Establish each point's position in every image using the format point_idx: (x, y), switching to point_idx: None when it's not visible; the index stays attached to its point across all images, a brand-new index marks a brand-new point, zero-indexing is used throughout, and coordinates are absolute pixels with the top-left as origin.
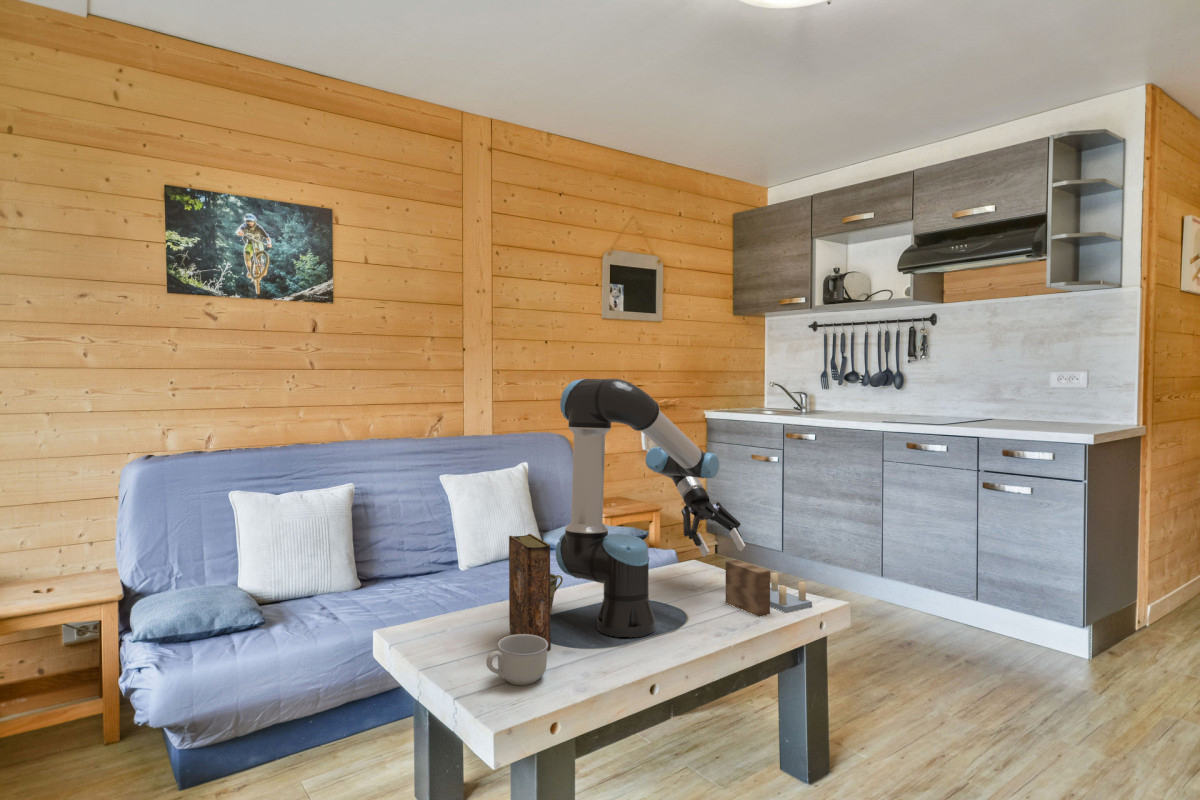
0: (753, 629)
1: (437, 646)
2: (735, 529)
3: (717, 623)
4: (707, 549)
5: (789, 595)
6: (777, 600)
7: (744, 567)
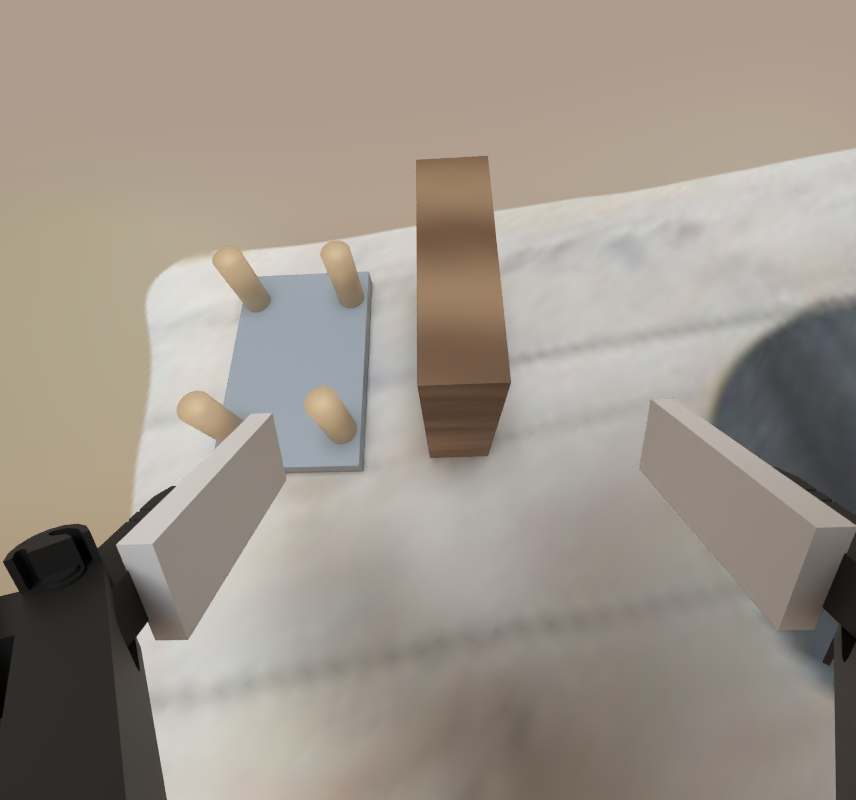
0: (562, 224)
1: None
2: (150, 524)
3: (641, 299)
4: (673, 406)
5: (250, 355)
6: (335, 332)
7: (487, 244)
